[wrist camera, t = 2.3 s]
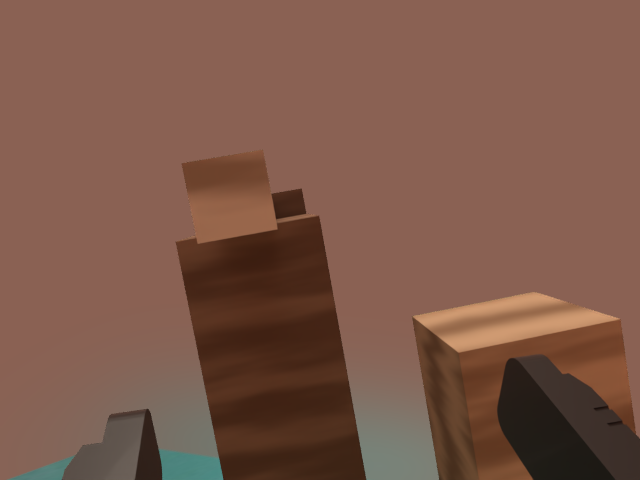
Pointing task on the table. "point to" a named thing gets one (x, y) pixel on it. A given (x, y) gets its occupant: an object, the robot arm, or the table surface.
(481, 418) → the light wooden pillar block
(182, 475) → the table surface
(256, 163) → the brown wooden block
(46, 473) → the table surface
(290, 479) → the tall walnut stand
